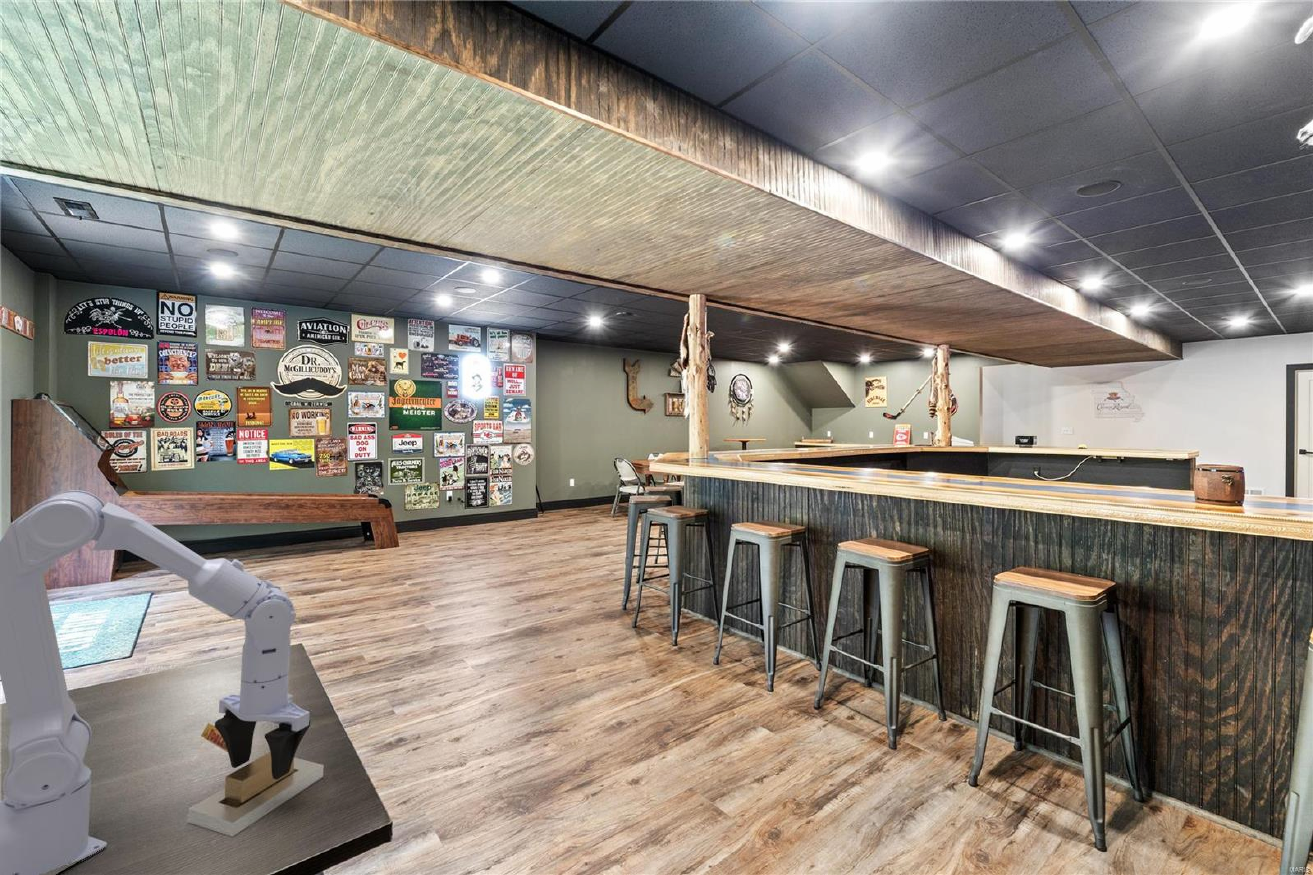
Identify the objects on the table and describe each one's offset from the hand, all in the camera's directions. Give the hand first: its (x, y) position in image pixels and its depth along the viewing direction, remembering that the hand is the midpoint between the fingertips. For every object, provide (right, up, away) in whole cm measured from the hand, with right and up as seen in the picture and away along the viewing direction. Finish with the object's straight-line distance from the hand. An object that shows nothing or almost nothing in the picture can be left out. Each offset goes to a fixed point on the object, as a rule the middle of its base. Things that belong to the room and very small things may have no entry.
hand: (260, 769), depth 82 cm
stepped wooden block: (0, -4, 0) cm, 4 cm away
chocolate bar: (-15, -4, +13) cm, 20 cm away
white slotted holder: (0, -4, 0) cm, 4 cm away
